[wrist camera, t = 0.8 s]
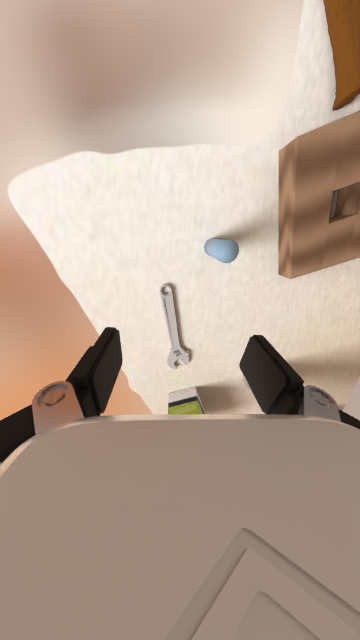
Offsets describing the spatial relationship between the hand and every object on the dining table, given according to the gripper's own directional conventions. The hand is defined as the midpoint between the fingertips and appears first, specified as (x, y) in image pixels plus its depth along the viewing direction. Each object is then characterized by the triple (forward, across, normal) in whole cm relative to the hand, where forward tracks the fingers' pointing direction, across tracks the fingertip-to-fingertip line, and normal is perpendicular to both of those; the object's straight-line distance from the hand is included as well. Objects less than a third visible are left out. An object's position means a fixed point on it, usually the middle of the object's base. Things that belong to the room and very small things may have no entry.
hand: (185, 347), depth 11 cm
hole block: (+24, -26, -14) cm, 38 cm away
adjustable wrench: (+25, -2, +15) cm, 29 cm away
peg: (+24, -7, -6) cm, 26 cm away
